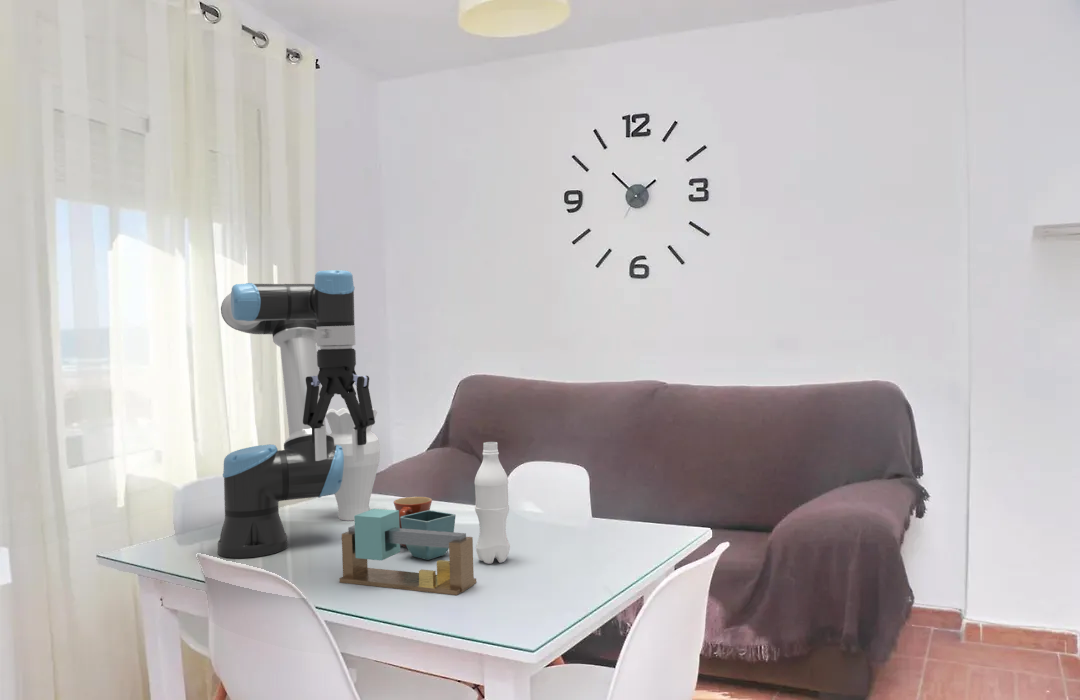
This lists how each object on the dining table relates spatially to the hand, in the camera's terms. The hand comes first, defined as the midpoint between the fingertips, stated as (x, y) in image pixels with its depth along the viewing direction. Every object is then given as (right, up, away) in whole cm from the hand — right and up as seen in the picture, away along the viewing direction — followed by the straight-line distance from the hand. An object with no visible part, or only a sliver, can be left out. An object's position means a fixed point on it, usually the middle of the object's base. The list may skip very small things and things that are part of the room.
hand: (339, 460), depth 166 cm
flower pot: (+16, -23, +14) cm, 31 cm away
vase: (-9, -23, +54) cm, 59 cm away
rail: (+14, -23, -5) cm, 28 cm away
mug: (+11, -23, +22) cm, 34 cm away
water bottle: (+30, -23, +9) cm, 39 cm away
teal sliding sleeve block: (+8, -15, -3) cm, 17 cm away
